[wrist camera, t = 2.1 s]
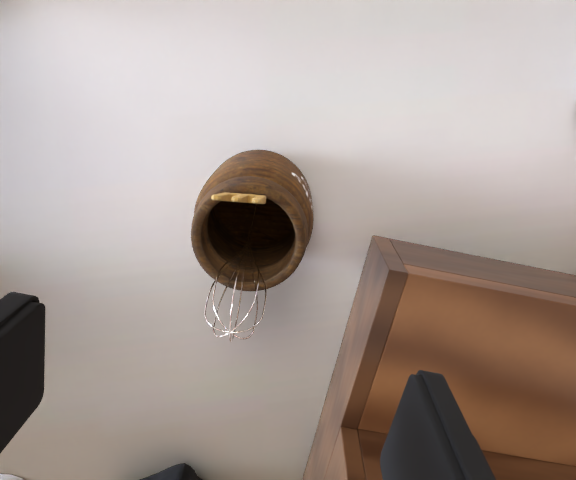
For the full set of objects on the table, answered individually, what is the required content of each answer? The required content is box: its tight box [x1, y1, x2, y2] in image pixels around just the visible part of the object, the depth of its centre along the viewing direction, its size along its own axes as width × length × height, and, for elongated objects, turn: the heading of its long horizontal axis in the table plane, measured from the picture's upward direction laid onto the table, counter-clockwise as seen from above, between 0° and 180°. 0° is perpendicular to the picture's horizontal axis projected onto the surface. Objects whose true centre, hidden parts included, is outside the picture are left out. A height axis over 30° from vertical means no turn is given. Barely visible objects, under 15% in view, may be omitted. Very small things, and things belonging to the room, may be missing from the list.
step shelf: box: [303, 236, 576, 480], centre depth 25 cm, size 20×18×12 cm
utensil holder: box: [191, 150, 313, 342], centre depth 20 cm, size 6×6×12 cm
